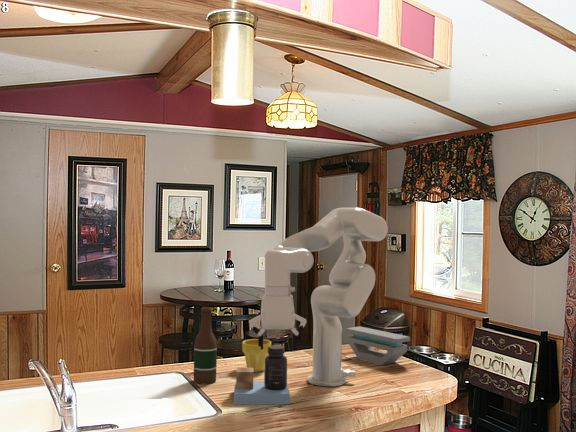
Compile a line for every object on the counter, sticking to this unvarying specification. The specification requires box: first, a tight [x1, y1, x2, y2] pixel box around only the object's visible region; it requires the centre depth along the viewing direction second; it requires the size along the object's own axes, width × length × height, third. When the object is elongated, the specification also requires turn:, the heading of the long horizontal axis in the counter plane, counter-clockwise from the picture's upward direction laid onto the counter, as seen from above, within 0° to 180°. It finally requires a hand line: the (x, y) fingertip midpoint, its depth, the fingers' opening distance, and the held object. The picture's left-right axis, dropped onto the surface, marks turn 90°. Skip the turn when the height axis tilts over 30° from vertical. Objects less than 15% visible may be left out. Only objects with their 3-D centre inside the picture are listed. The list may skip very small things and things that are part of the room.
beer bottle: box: [193, 306, 218, 385], centre depth 181 cm, size 8×8×24 cm
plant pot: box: [241, 338, 272, 373], centre depth 198 cm, size 10×10×10 cm
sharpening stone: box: [345, 325, 411, 366], centre depth 214 cm, size 25×8×11 cm, turn 41°
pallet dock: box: [233, 381, 291, 405], centre depth 166 cm, size 16×12×3 cm
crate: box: [235, 367, 255, 389], centre depth 166 cm, size 5×5×5 cm
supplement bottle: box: [263, 345, 288, 390], centre depth 166 cm, size 7×7×12 cm
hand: (277, 348), depth 167 cm, fingers open, 9 cm apart
